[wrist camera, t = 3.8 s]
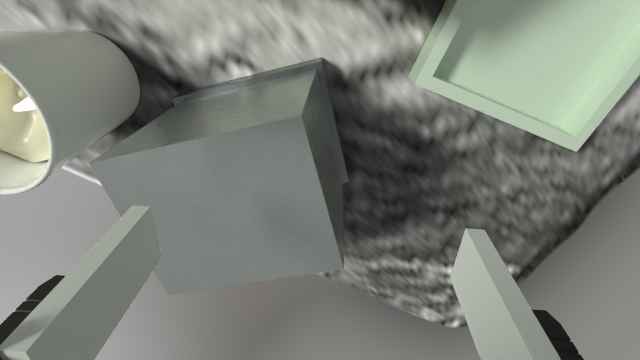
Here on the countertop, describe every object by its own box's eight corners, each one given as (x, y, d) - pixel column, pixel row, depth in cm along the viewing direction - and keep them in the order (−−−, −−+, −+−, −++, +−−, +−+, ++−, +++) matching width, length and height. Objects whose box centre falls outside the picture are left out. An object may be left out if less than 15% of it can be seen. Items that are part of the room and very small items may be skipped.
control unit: (181, 92, 31) (76, 156, 19) (322, 57, 29) (308, 103, 17) (225, 196, 36) (165, 301, 24) (348, 172, 34) (353, 274, 22)
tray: (517, -143, 23) (539, -160, 20) (700, -45, 25) (740, -50, 22) (408, 76, 29) (414, 83, 27) (558, 139, 31) (576, 152, 29)
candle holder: (163, 129, 33) (79, 192, 22) (65, 134, 34) (-60, 198, 23) (128, 14, 28) (2, 25, 18) (17, 24, 29) (-167, 40, 19)
